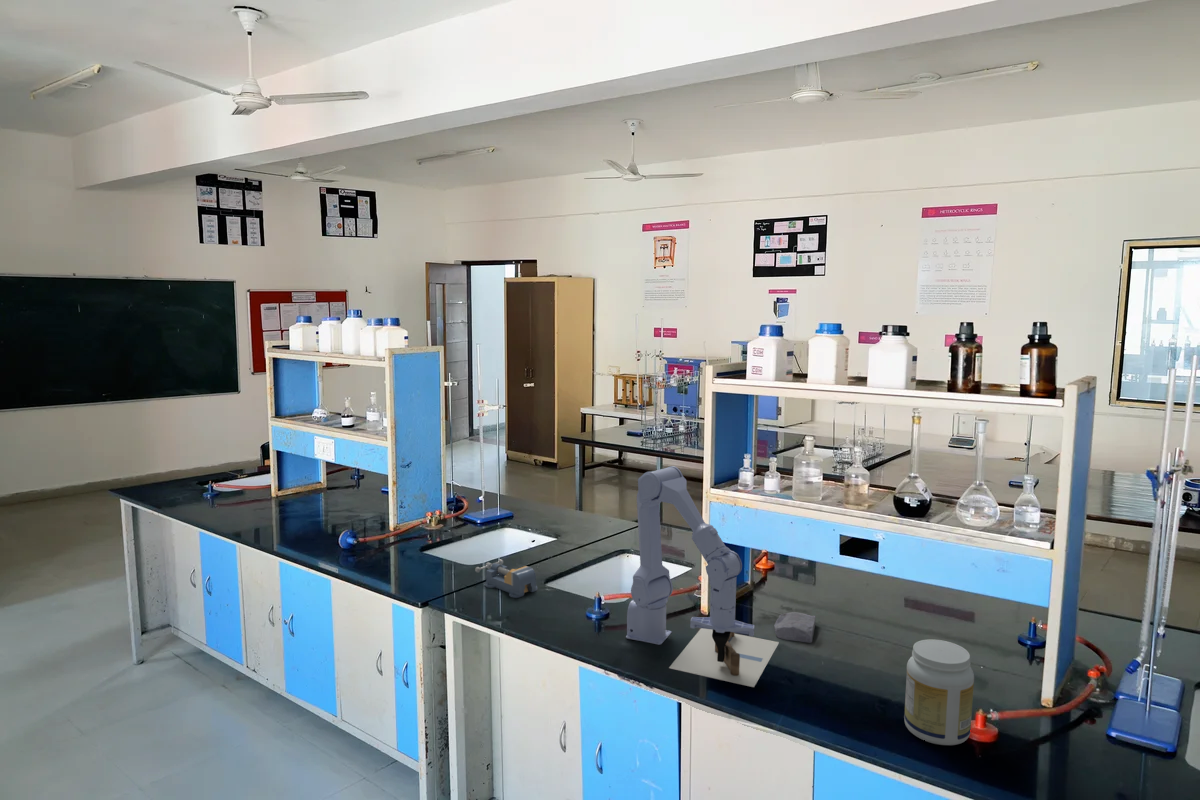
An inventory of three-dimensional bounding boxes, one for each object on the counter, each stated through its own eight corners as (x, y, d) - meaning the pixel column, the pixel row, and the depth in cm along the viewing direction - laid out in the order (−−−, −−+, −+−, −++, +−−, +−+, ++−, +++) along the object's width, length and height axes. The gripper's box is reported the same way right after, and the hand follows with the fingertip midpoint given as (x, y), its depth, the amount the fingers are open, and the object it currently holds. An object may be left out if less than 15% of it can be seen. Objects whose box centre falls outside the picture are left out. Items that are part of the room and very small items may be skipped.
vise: (541, 589, 228) (540, 567, 227) (514, 599, 220) (514, 577, 219) (501, 574, 240) (500, 553, 239) (474, 583, 232) (473, 562, 231)
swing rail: (713, 649, 188) (714, 628, 188) (721, 648, 189) (722, 627, 188) (732, 675, 176) (732, 653, 175) (740, 675, 176) (741, 652, 175)
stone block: (774, 647, 195) (815, 645, 191) (771, 628, 195) (812, 626, 191) (779, 629, 206) (818, 627, 203) (776, 611, 206) (815, 609, 202)
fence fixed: (713, 652, 187) (714, 633, 187) (727, 633, 197) (728, 615, 197) (721, 653, 186) (722, 635, 186) (735, 634, 197) (735, 617, 196)
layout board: (668, 669, 180) (668, 667, 180) (702, 628, 201) (702, 626, 201) (753, 688, 171) (753, 687, 171) (779, 643, 192) (779, 642, 192)
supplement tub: (951, 713, 161) (957, 636, 159) (982, 747, 149) (988, 664, 147) (893, 714, 161) (898, 637, 158) (919, 749, 149) (924, 666, 146)
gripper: (688, 607, 177) (687, 663, 179) (753, 615, 172) (750, 672, 174) (693, 595, 183) (692, 649, 185) (756, 603, 179) (754, 658, 181)
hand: (721, 660), depth 180 cm, fingers closed, pressing on swing rail
